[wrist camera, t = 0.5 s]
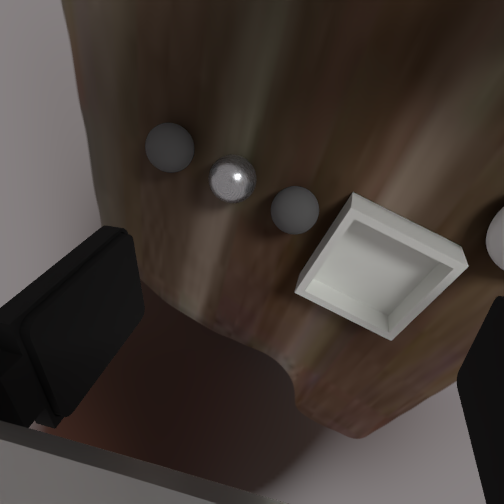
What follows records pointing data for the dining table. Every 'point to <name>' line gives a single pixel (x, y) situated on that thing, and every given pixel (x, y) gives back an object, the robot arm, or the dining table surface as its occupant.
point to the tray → (379, 268)
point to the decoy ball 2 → (294, 210)
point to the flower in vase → (496, 239)
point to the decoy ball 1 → (169, 147)
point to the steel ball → (232, 178)
